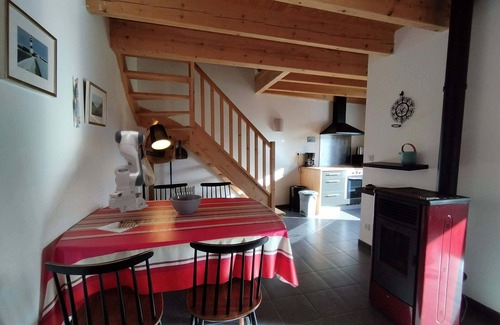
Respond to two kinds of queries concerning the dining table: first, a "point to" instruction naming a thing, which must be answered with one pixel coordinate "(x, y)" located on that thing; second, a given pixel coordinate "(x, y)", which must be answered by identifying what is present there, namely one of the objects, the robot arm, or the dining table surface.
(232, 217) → the dining table surface
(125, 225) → the ammunition clip
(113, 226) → the mat
